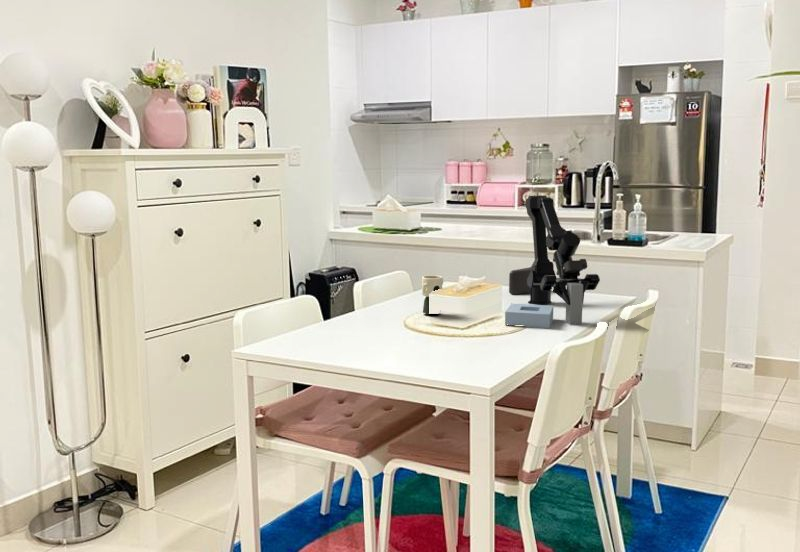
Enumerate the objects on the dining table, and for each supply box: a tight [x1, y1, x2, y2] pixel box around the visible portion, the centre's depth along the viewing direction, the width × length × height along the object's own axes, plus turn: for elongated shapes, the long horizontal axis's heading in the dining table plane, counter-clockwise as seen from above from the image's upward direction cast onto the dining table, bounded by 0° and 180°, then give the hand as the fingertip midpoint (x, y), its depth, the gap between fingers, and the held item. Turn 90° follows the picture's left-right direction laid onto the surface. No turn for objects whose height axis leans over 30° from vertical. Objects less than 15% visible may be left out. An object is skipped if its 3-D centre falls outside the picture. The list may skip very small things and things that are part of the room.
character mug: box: [421, 274, 444, 315], centre depth 277 cm, size 11×7×13 cm, turn 145°
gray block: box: [564, 283, 584, 326], centre depth 264 cm, size 4×4×13 cm
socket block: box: [504, 302, 555, 329], centre depth 266 cm, size 14×14×4 cm
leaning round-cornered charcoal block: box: [508, 266, 531, 296], centre depth 317 cm, size 16×5×9 cm, turn 134°
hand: (575, 304), depth 263 cm, fingers closed on gray block, 4 cm apart
